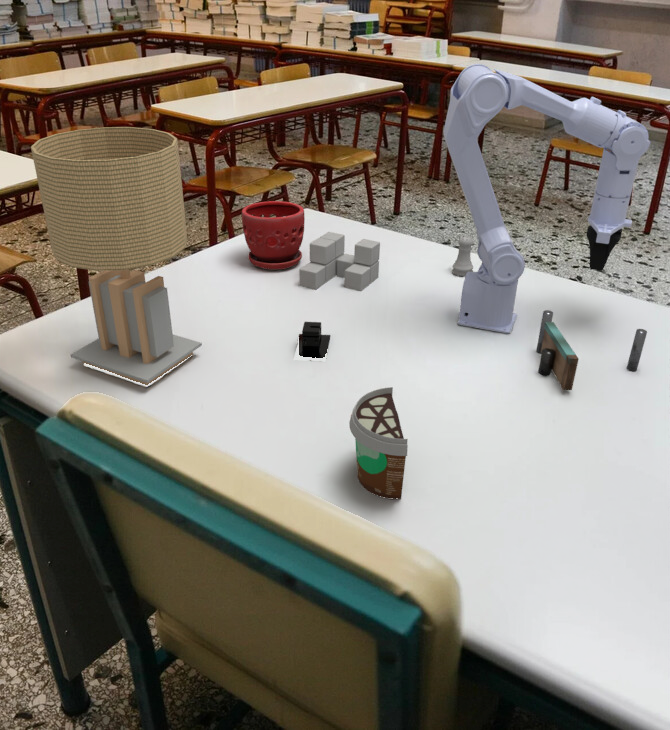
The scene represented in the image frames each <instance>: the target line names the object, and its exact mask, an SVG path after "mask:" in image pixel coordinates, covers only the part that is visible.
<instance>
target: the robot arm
mask: <svg viewBox="0 0 670 730" xmlns="http://www.w3.org/2000/svg"><path fill="white" fill-rule="evenodd" d="M493 70H494V71H495V72H494V71H493ZM493 70H491V68H490V67H488V66H487V65H485V64H482V63H481V64H480V63H473V64H470V65H467V66H466V67H465V68H464V69H463V70H462V71H461V72H460V73H459V75H458V77H457V78H456V80H455V82H454V84H453V85H452V86H451V88H450V96H449V97H450V99H449V104H448V108H447V113H446V119H445V123H444V127H443V131H442V132H443V138H444V140H445V141H444V142H445V144H446V146H447V150H448V153H449V156H450V159H451V161H452V164H453V167H454V170H455V172H456V176H457V178H458V181H459V183H460V184H459V185H460V187H461V190H462V192H463V196H464V197H465V201H466V204H467V207H468V210H469V213H470V216H471V218H472V221H473V225H474V227H475V229H476V231H475V232H476V233H475V234H476V237H477V240H478V242H477V243H478V244H477V256H478V259H479V260H480V261H481V264H480V265H479V267H478V269H477V271H473V272H467V274H466V276H465V277H464V279H463V284H462V291H461V298H460V307H459V314H458V315H459V316H458V321H457V324H458V325H459V326H460V325H461V326H465V327H471V328H477V329H482V330H486V331H487V330H488V331H491V332H497V333H503V334H511V332H512V329H513V326H514V323H515V321H516V318H517V316H518V314H517V313H516V312H514V310H515V309H514V308H515V303H516V296H517V289H518V284H519V283H518V282H519V279H520V278H521V277H522V275H523V274H524V271H525V268H526V263H525V259H524V257H523V255H522V253H520V252H519V251H518V250H517V248H516V247H515V245H514V243H513V241H512V238H511V236H510V234H509V232H508V230H507V227H506V225H505V223H504V219H503V216H502V213H501V209H500V207H499V203H498V200H497V197H496V195H495V191H494V188H493V186H492V183H491V179H490V176H489V172H488V170H487V167H486V164H485V160H484V158H483V157H484V156H483V155H482V152H481V148H480V145H479V143H478V137H479V136H480V134H481V133H482V131H483V129H484V128H485V126H486V125H487V124H488V123H489V122H490V121H491V120H492V119H493V118H494V117H495V116H496V115H498V114H499V113H500V112H501V110H502V109H503V108H505V109H506V110H512V109H515V108H518V107H520V106H524V107H526V108H529V109H532V110H534V111H536V112H539V113H541V114H544V115H546V116H549V117H551V118H554V119H556V120H558V121H560V122H562V124H563V125H562V126H563V130H564V132H565V133H566V134H568V135H570V136H573V137H575V138H577V139H578V140H582V141H584V142H586V143H588V144H590V145H593V146H595V147H596V148H597V147H598V148H600V149H601V148H603V151H602V156H601V160H600V164H599V170H598V174H597V179H596V184H595V190H594V194H593V199H592V203H591V208H590V214H589V215H588V217H587V222H588V224H589V225H588V226H587V230H586V238H587V240H588V247H589V270H593V271H594V270H595V271H599V272H602V271H603V270H604V268H605V266H606V264H607V262H608V259H609V257H610V254H611V252H612V251H613V250H614V248H615V246H616V245H617V244H618V243H619V242H620V240H621V239H622V233H623V228H624V227H625V228H626V227H627V228H631V227H632V223H633V220H632V219H629V218H627V214H628V213H627V212H628V209H629V204H630V201H631V195H632V191H633V187H634V183H635V179H636V174H637V170H638V166H639V161H640V159H641V158H642V156H643V155H645V154H646V152H647V151H648V149H649V147H650V145H651V140H649V131H648V129H647V127H646V126H645V125H643V124H642V123H640V122H638V121H637V120H635V119H634V118H633V119H632V118H631V117H629V116H627V113H626V112H624V111H622V110H621V109H618V110H617V111H615V110H613V109H611V108H609V107H606V106H604V105H602V100H601V99H599V98H596V97H594V96H591V97H590V99H589V98H587V97H581V98H579V99H575V100H573V101H570V100H569V99H567V98H565V97H562V96H561V95H558V94H557V93H554V92H552V91H550V90H548V89H546V88H544V87H542V86H540V85H538V84H537V83H534V82H532V81H530V80H528V79H526V78H524V77H523V76H520V75H517V74H514V73H510V72H508V71H504V70H501V69H497V68H493Z"/></svg>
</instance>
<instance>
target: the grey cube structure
mask: <svg viewBox="0 0 670 730" xmlns="http://www.w3.org/2000/svg"><path fill="white" fill-rule="evenodd" d="M345 239H346V238H345V234H342V233H341V234H340V233H337V232H332V231H328V232H326V233H324V234H323V235H321V236H320V237H318V238H316V239H315V240H312V242H310V243H309V261H310V262H308V263H306V264H305V265H304V266H302V267H300V268H299V272H298V273H299V287H301V288H306V289H311V290H315V291H316V290H318V289H320V288H321V287H322V286H324V285H325V284H326V283H328V282H330V281H331V280H332V279H334V278H335V277H339V278H343V279H344V288H347V289H350V290H355V291H359V292H362V291H363V290H365V289H366V288H367V287H369V286H370V285H371V284H372V283H374V282H375V281H376V280H378V279H379V273H380V268H379V267H380V261H379V260H380V252H381V250H380V249H381V242H380V241H376V240H371V239H365V238H362V239H360V241H357V242H356V243H355V244H354V253H353V254H354V255H353V254H349V253H345V246H346V245H345V241H346V240H345Z"/></svg>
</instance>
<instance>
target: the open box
mask: <svg viewBox="0 0 670 730" xmlns="http://www.w3.org/2000/svg"><path fill="white" fill-rule="evenodd" d="M544 328H545V332H544V338H543V343H542V348H541V353H542V350H543V349H545V348H549V349H553V350H554V351H555V355H554V361H553V366H552V371H551V372H552V373H553V374H554V376H555V378H556V379H557V381H558V383H559V384H560V388H561V390H562V391H573V387H574V382H575V378H576V372H577V369H578V364H579V357H578V356H577V354H576V353H575V351H574V350H573V348H572V347H571V346H570V344H569V342H568V340H566V337H565V336H564V335H563V334H562V332H561V331H560V329H559V328H558V326H557V325H556V323H555V322H554V321H552V322H545V326H544Z"/></svg>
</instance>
